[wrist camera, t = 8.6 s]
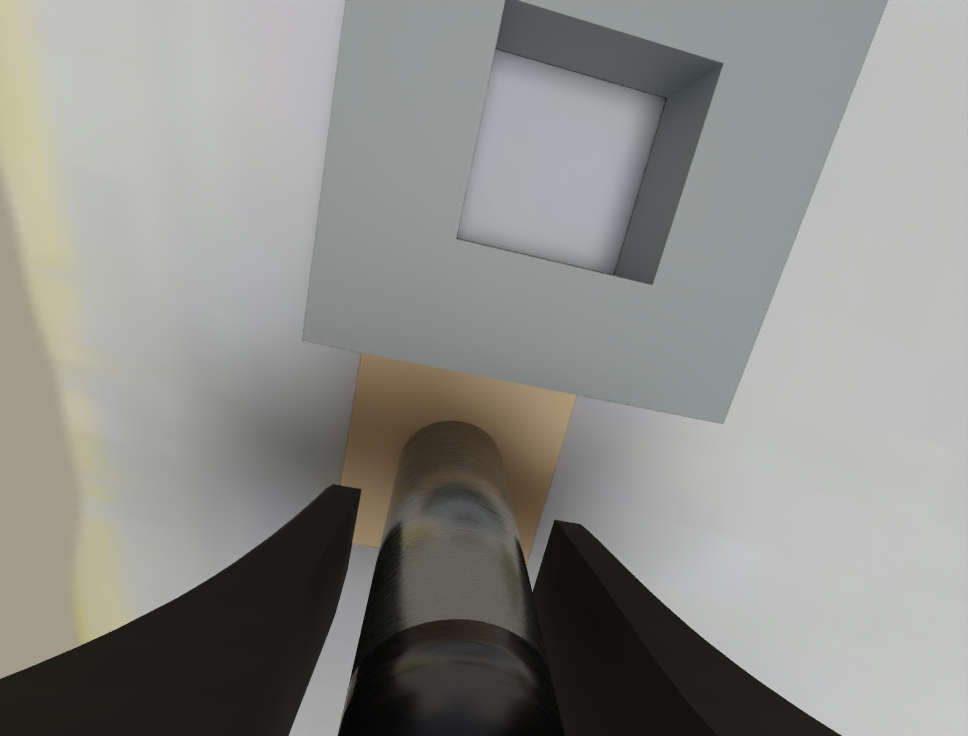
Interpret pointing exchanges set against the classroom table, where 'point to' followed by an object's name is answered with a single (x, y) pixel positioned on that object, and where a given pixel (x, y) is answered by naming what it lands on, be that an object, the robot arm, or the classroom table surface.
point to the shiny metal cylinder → (451, 604)
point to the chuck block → (657, 213)
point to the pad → (450, 397)
